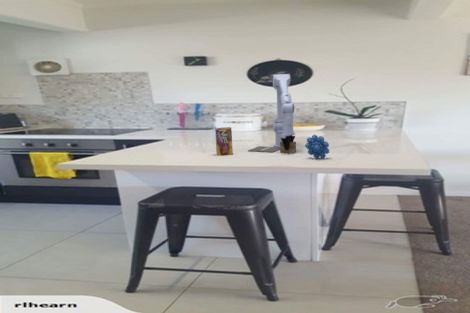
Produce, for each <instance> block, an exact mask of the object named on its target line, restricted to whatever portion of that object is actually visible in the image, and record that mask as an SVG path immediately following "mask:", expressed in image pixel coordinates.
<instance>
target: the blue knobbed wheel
mask: <svg viewBox="0 0 470 313" xmlns="http://www.w3.org/2000/svg"><path fill="white" fill-rule="evenodd" d="M329 146H330V145H329V142H328V141H325V137H323V136H321V135H320V136H318V135H316V134H312V135H311V136H310V137H307V138H306V143H305V145H304V147H305V148H306V149H307V154H308V155H311V156H313V157H314V158H315V159H317V160H318V159H319V158H321V159H325V158H326V157H327V156H326V155H327V154H329V153H330V149H329Z"/></svg>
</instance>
